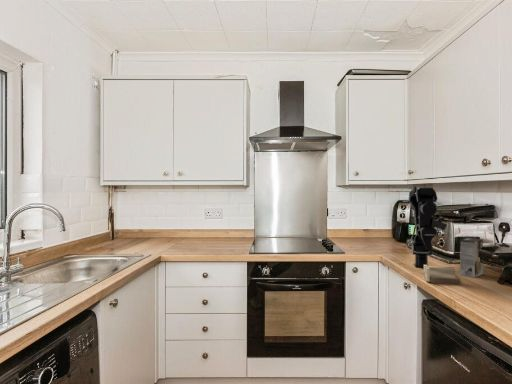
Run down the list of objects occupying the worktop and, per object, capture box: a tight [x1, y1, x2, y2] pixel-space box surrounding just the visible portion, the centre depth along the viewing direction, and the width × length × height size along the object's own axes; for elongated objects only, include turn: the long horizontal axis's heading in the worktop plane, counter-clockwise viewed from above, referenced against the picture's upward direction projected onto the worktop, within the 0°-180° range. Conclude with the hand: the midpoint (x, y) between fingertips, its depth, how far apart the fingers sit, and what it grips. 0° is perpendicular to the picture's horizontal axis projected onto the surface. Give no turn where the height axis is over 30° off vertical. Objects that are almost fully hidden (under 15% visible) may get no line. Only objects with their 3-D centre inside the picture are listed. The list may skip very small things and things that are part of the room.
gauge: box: [423, 265, 456, 283], centre depth 145 cm, size 7×11×6 cm, turn 72°
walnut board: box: [429, 274, 461, 286], centre depth 149 cm, size 16×11×2 cm
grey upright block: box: [459, 237, 484, 279], centre depth 155 cm, size 9×6×16 cm
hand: (426, 247), depth 159 cm, fingers open, 9 cm apart
